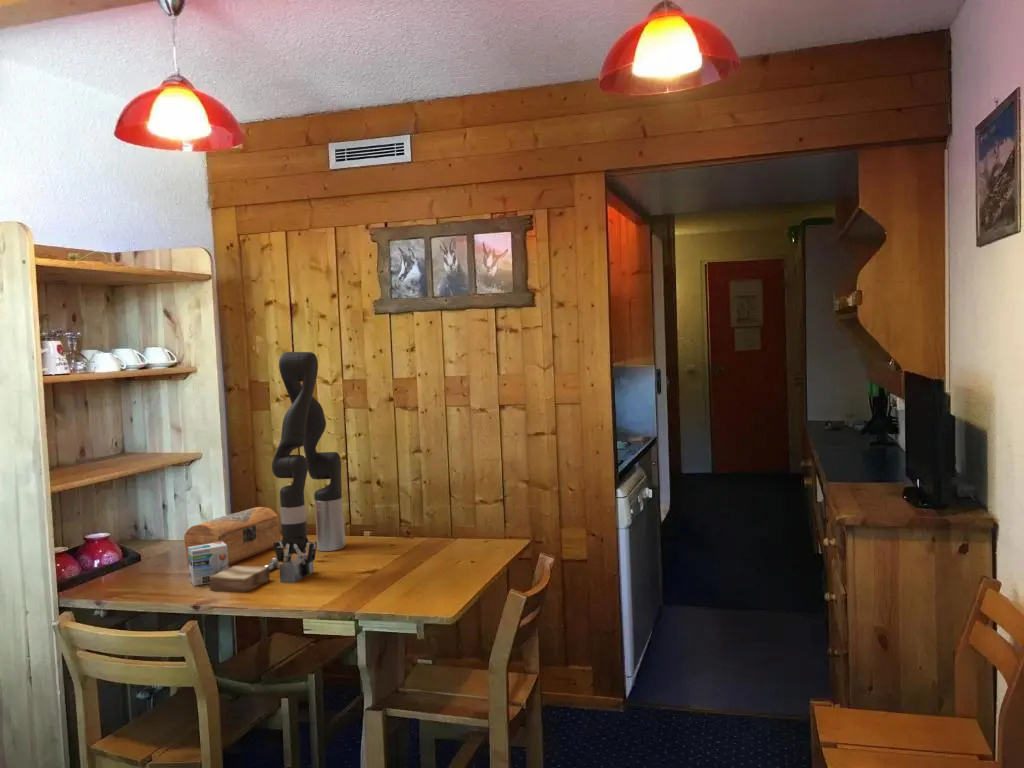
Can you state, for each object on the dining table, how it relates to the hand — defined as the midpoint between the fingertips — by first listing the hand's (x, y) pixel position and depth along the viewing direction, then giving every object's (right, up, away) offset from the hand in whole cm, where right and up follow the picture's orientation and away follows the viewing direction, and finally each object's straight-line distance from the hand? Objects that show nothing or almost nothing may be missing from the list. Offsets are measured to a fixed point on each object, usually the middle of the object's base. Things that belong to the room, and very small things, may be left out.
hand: (297, 575), depth 247 cm
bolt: (-11, -1, +9) cm, 14 cm away
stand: (-15, -2, -6) cm, 16 cm away
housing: (0, -1, 0) cm, 1 cm away
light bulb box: (-27, -2, +1) cm, 27 cm away
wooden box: (-29, -1, +31) cm, 43 cm away
